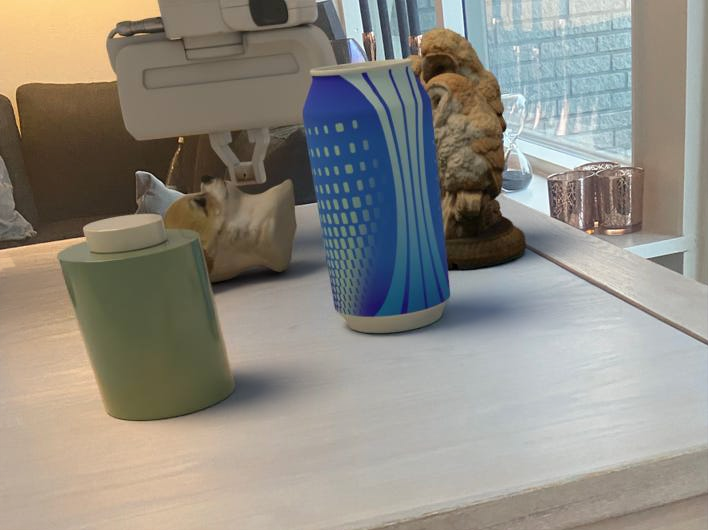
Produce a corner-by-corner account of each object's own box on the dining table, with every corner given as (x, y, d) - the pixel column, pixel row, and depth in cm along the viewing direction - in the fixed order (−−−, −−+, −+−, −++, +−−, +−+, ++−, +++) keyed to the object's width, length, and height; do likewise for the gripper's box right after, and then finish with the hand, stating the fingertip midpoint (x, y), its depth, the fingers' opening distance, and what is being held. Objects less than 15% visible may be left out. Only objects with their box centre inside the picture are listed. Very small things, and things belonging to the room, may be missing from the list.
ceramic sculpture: (291, 166, 77) (104, 203, 75) (317, 276, 82) (142, 314, 80) (282, 152, 86) (114, 185, 84) (306, 253, 90) (148, 286, 89)
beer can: (315, 323, 70) (271, 73, 61) (407, 297, 75) (377, 58, 66) (380, 344, 65) (341, 71, 56) (475, 314, 69) (453, 55, 60)
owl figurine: (355, 246, 92) (324, 37, 82) (463, 224, 96) (446, 23, 86) (436, 279, 78) (410, 34, 69) (558, 252, 82) (549, 18, 73)
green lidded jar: (83, 423, 57) (22, 242, 51) (134, 377, 63) (86, 213, 58) (211, 416, 56) (164, 232, 50) (250, 371, 62) (212, 203, 57)
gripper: (84, 25, 82) (133, 200, 89) (316, -3, 79) (346, 179, 87) (114, 22, 87) (158, 187, 95) (332, -5, 84) (359, 168, 92)
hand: (249, 183), depth 91 cm, fingers closed
